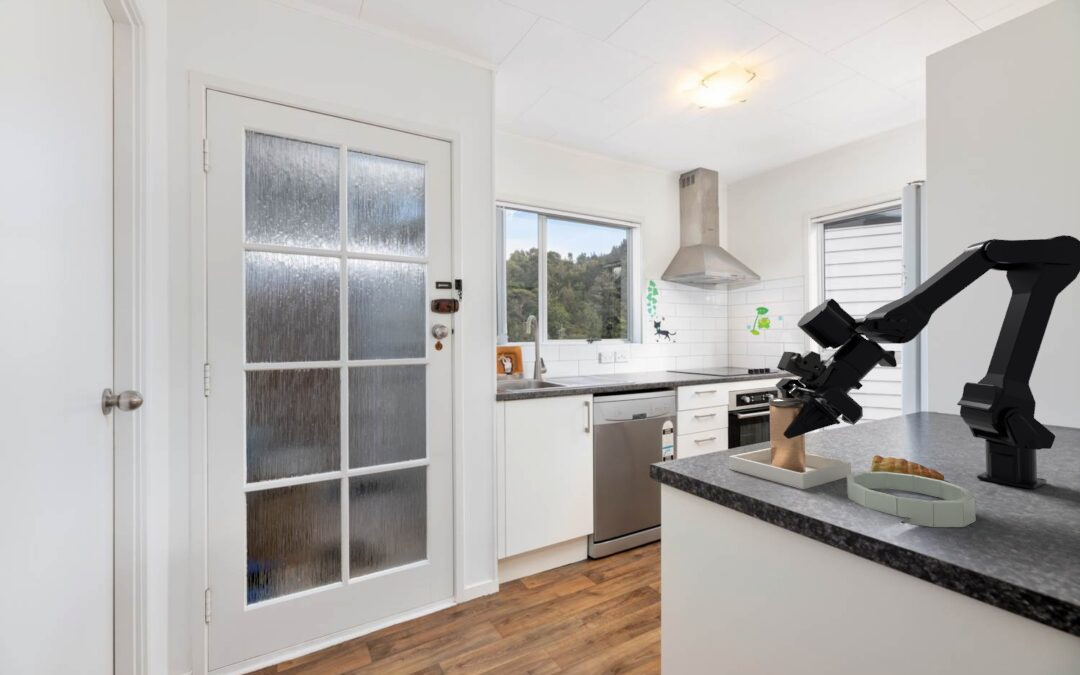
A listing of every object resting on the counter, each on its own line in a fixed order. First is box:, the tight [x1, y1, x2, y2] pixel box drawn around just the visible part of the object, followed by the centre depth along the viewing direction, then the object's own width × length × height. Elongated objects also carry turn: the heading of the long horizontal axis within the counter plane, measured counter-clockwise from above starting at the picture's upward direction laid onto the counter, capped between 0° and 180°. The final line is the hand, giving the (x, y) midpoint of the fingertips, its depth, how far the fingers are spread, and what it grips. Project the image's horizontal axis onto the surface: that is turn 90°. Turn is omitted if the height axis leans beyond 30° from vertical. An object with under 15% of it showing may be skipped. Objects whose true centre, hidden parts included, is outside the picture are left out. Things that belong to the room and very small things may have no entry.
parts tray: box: [728, 447, 852, 490], centre depth 78 cm, size 13×13×3 cm
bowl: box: [846, 471, 977, 528], centre depth 63 cm, size 13×13×3 cm
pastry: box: [869, 454, 945, 481], centre depth 74 cm, size 9×7×4 cm
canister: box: [768, 397, 806, 473], centre depth 78 cm, size 5×5×12 cm
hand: (778, 433), depth 78 cm, fingers closed on canister, 5 cm apart
